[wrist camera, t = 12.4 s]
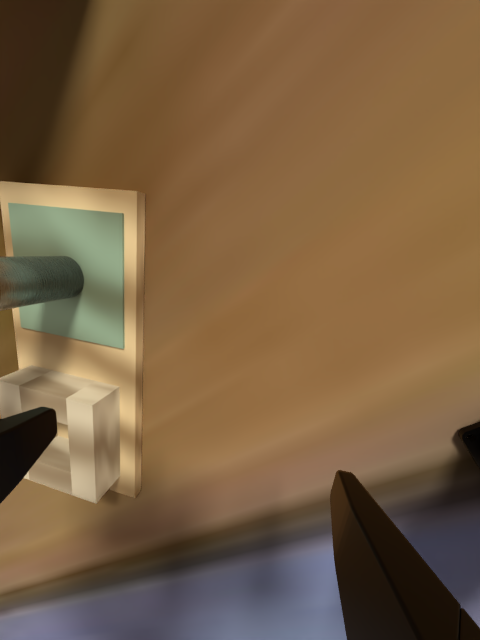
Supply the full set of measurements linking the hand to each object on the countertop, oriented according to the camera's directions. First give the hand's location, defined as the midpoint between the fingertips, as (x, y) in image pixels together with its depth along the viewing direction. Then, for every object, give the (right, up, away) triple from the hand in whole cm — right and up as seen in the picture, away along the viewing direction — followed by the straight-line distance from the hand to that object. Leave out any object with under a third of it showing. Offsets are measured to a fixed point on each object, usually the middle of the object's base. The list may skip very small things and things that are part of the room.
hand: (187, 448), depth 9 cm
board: (-12, +1, +16) cm, 20 cm away
